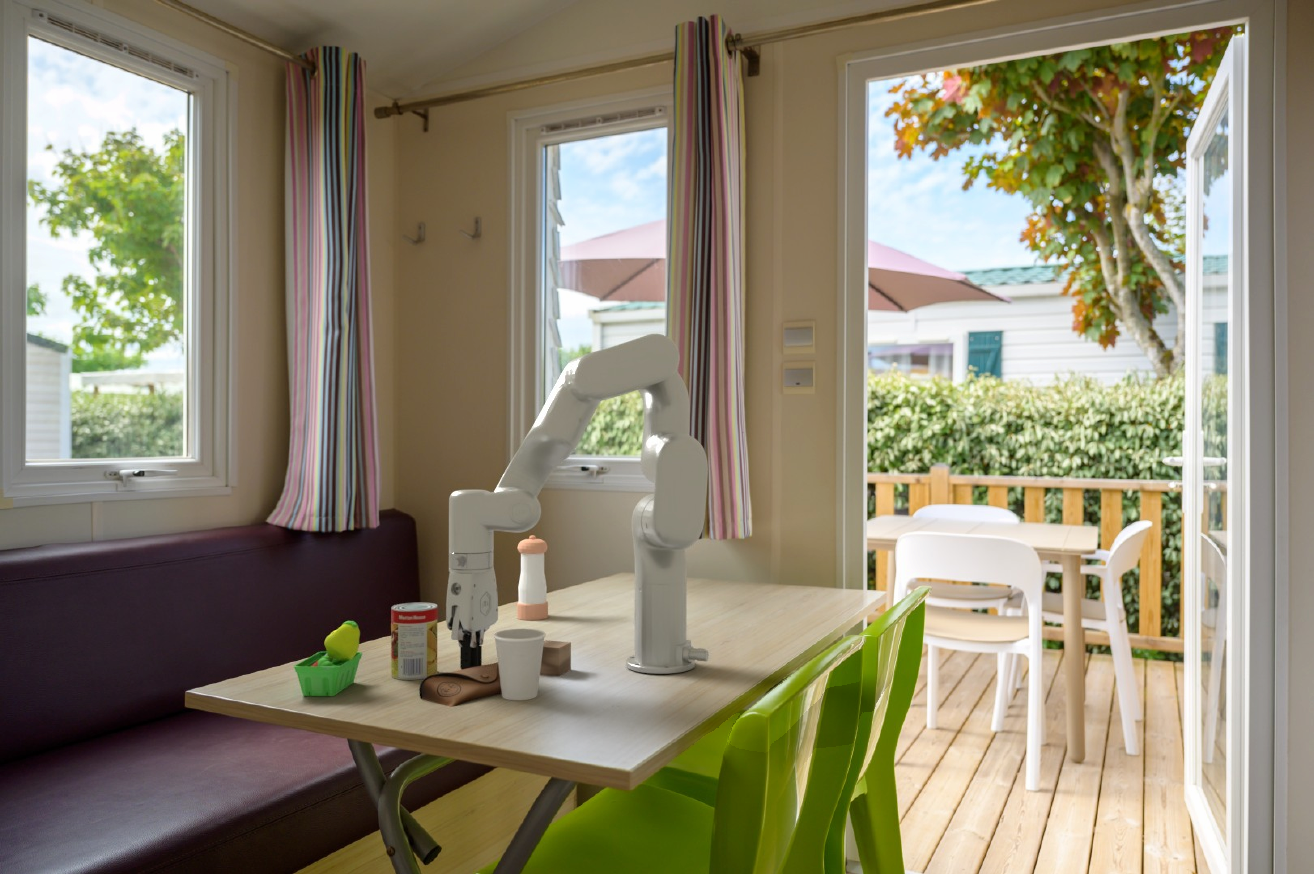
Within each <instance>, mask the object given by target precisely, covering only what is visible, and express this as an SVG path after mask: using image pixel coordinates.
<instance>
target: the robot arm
mask: <svg viewBox="0 0 1314 874" xmlns="http://www.w3.org/2000/svg"><path fill="white" fill-rule="evenodd" d="M680 356H681V355H680V351H679V348H678V346H677V344H676V343H675V341H673V339H672V338H670V337H668V336H667V335H664V334H661V333H650V334H647V335H644V336H641V337H637V338H635V339H632V340H629V341H626V342H623V343H619V344H617V345H613V346H610V347H608V348H607V347H606V348H604V349H600V350H596V351H592V352H587V353H585V354H582V355H580V356H577V357H575V358H573V359H572V360H570V361H569V362H568V363H567V365H565V367H564V369H562V371H561V373H560V375H559V377H558V379H557V381H556V382H555V384H554V386H553V388H552V390H551V392H550V394H549V396H548V398H547V399H546V401H545V403H544V405H543V407H542V408H541V410H540V412H539V415H538V416H537V417H536V420H535V421H534V423H533V425H532V427H531V428H530V429H529V431H528V433H527V434H526V436H525V438H524V440H523V441H522V443H521V445H519V448H518V449H517V451H516V453H515V454H514V456H513V457H512V459H511V460H510V463H509V464H508V466H507V468H506V469H505V471H504V473H503V474H502V477H501V478H500V480H499V482H498V484H497V485H496V488H495V489H494V491H489V490H486V489H459V490H454V491H453V492H451V494H450V496H449V498H448V572H449V574H448V581H447V582H448V583H447V588H446V589H447V590H446V601H445V602H446V603H445V608H446V609H445V622H446V627H447V630H449V631H451V637H450V639H451V640H454V641H455V640H456V641H458V647H459V649H460V664H459V667H460V670H463V669H467V668H472V667H477V666H482V665H483V664H482V660H483V659H482V652H483V651H482V647H483V646H482V645H483V644H484V636H485V633H486V632H487V631H488V630H490V628H491V626H493V625H495V624H496V623H497V622H498V620H499V619H498V618H499V605H498V603H499V601H498V587H497V577H496V572H495V569H494V568H495V567H494V565H495V564H494V553H495V552H494V550H495V548H494V546H495V545H494V543H495V542H494V539H495V537H494V536H495V535H494V532H495V531H499V532H507V533H524V532H527V531H529V530H531V529H532V528H534V527H535V526H536V525H537V524H538V522H539V521H540V519H541V515H542V507H541V503H540V501H539V499H538V496H539V494H540V492H541V491H542V488H543V487H544V485H545V483H546V482H547V480H548V479H549V477H550V476H551V475H552V473H553V472H554V471H555V470H556V469H557V468H558V466H560V465H561V464H562V463H563V462H565V461H566V459H568V458H569V457H570V456H571V455H572V453H573V452H574V451H575V450H576V448H577V446H578V445H579V443H580V441H581V439H582V438H583V436H584V433H585V431H586V429H587V427H588V426H589V424H590V421H592V418H593V416H594V415H595V413H596V411H597V409H598V407H599V405H600V403H601V402H602V401H606V400H610V399H613V398H617V397H621V396H623V395H626V394H629V393H633V392H635V391H638V393H639V394H640V397H641V400H642V404H643V425H642V426H643V427H642V438H641V439H642V442H641V450H640V451H641V452H640V453H641V454H640V469H641V471H642V474H643V475H644V477H645V478H646V479H647V480H648V481H650V482H651V483H652V484H654V490H653V491H654V492H653V493H650V494H647V495H646V496H644V497H642V498H641V499H640V500H639V501H638V503H637V504H636V505H635V507H634V509H633V512H632V516H631V522H630V523H631V534H632V535H631V536H632V544H633V554H634V558H633V559H634V654H633V655H631V656H628V657H627V659H626V660H625V666H626V668H628V669H629V670H631V671H634V672H638V673H643V674H645V673H646V674H653V675H656V674H657V675H658V674H659V675H663V674H664V675H665V674H678V673H683V672H688V671H690V670H692V669H694V668H695V666H696V664H695V663H696V661H697V662H699V661H700V662H708V661H709V656H710V655H709V654H710V653H709V650H706V648H700V647H699V648H697V647H696V648H695V647H694V646H692V640H691V639H687V581H688V575H687V574H688V570H687V569H688V568H687V555H686V549H689V548H690V547H692V546H693V545H694V544H695V543H696V542H697V541H698V540H699V538H700V537H701V534H702V533H703V530H704V525H705V518H706V509H707V508H706V507H707V506H706V505H707V492H708V489H707V488H708V476H709V474H708V473H709V470H708V468H709V466H708V458H707V454H706V451H705V449H704V447H703V445H702V444H701V443H700V442H699V441H698V439H697V438H695V437H693V436H691V435H690V426H691V425H690V420H691V418H690V415H691V414H690V413H691V403H690V396H689V392H688V388H687V386H686V384H685V382H684V380H683V378H682V376H681V375H680V373H679V372H678V368H679V365H680V360H681V357H680Z"/></svg>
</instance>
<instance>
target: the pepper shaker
mask: <svg viewBox="0 0 1314 874" xmlns="http://www.w3.org/2000/svg"><path fill="white" fill-rule="evenodd" d="M547 550H548V544H547V542H546V540H543V539H541V538H537V537H536V535H529V538H525V539H523V540H520V542H519V543H518V545H517V551H518V553H520V575H519V582H518V587H517V588H518V589H517V590H518V602H517V603H516V619H519V620H522V621H539V620H544V619H548V618H549V602H548V601H547V581H546V574H545V553H546V552H547ZM547 617H548V618H547Z"/></svg>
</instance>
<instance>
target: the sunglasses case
mask: <svg viewBox="0 0 1314 874" xmlns="http://www.w3.org/2000/svg"><path fill="white" fill-rule="evenodd" d="M418 691H419V692H418V693H419V698H420V699H421V700H425V701H429V702H431V703H436V704H439V705H443V706H448V707H451V708H452V707H456V706H460V705H462V704H465V703H469V702H473V701H476V700H481V699H484V698H487V697H488V698H489V697H493V696H497V695H500V694H501V695H502V691H501V684H500V675H499V666H498V661H497V662H493V663H490V664H489V663H488V664H482V666H477V667H472V668H467V669H463V670H462V669H459V670H455V671H451V672H450V671H448V672H440V673H438V672H437V674H434V675H431V676H428V677H426V678H425V679H422V681H421V682H420V686H419V689H418Z"/></svg>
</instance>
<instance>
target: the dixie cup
mask: <svg viewBox="0 0 1314 874" xmlns="http://www.w3.org/2000/svg"><path fill="white" fill-rule="evenodd" d="M546 636H547V633H546V632H545V631H544V630H540V629H535V628H510V629H509V628H508V629H504V630H499V631H497V632H496V633H494V634H493V638H494V639H495V647H496V649H495V650H496V656H497V658H496V659H497V662H498V666H499V675H500V684H501V691H502V693H501V697H502V698H503V699H505V700H507V701H526V700H532V699H535V698H536V697H538V692H539V683H540V676H541V674H540V669H541V661H542V652H543V644H544V641H545V637H546Z"/></svg>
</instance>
